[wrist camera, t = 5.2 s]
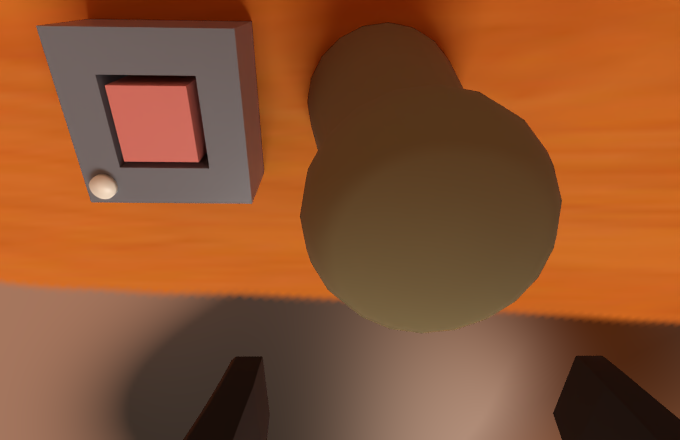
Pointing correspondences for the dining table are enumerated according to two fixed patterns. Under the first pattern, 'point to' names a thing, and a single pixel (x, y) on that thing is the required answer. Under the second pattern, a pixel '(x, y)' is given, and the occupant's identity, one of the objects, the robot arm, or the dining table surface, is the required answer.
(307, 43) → the dining table surface
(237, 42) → the block
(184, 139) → the button
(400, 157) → the cork
